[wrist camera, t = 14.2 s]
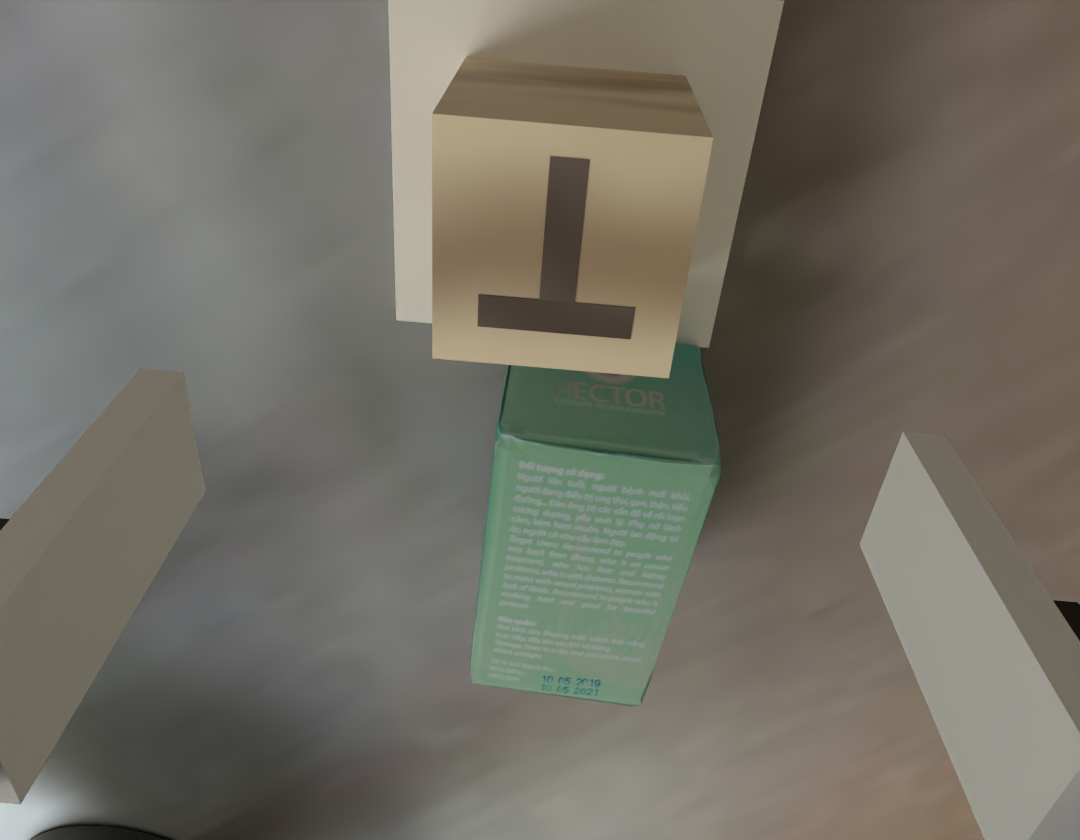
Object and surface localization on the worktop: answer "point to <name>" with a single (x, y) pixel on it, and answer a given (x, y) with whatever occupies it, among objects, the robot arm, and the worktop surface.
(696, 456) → the box
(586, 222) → the letter cube
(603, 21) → the tile
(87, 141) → the worktop surface
